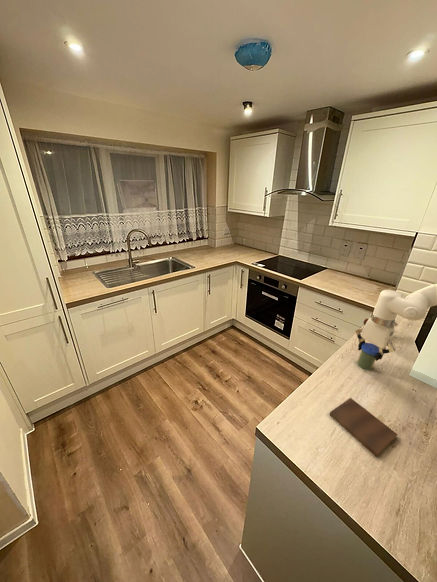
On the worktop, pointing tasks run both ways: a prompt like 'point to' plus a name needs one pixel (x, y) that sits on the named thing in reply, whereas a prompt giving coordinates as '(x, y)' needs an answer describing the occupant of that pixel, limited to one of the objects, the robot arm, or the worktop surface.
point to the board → (363, 426)
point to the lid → (370, 349)
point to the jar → (366, 360)
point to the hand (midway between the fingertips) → (368, 353)
